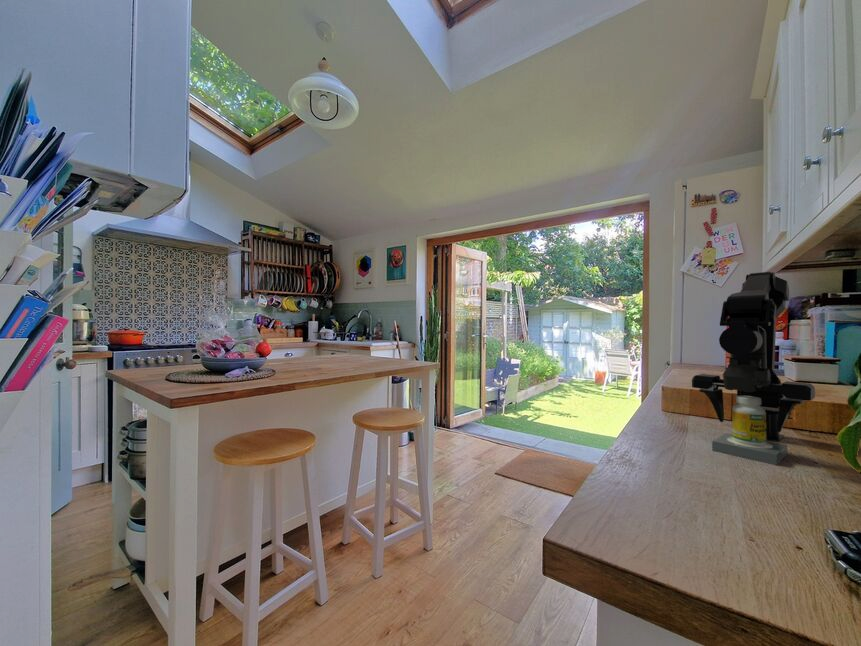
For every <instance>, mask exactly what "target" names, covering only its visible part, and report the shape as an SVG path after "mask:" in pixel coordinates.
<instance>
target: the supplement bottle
mask: <svg viewBox="0 0 861 646" xmlns="http://www.w3.org/2000/svg"><path fill="white" fill-rule="evenodd" d="M735 402H736V405H733V406H732V409H731V412H732V414H731V415H732V434H733V439H734V440H735V441H736V442H739V443H743V444H747V445H754V446H764V445H766V441H767V439H766V412H765V410H764V409H763V408H761V407H762V406H760V405H761V404H762V403H761V398H758V397H752V396H737V395H736V396H735Z"/></svg>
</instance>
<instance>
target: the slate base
mask: <svg viewBox="0 0 861 646" xmlns="http://www.w3.org/2000/svg"><path fill="white" fill-rule="evenodd" d="M711 447H712V449H711V450H712V451H714V452H719V453H723V454H727V455H732V456H735V457H739V458H744V459H748V460H752V461H756V462H757V461H758V462H762V463H765V464H771V465H773V466H774V465H775V466H778V464H780V462H781V461H782V460H783V459H784V458H786V456H787V455H788V444H786V443H780V442H776V441H771V440H766V445H764V446H754V445H747V444H743V443H739V442H736V441H735V440H734V439H733V433H727V432H726V433H724V434H722V435H721V436H718V437H717V438H714V439H713V440H712V441H711Z"/></svg>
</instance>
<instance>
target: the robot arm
mask: <svg viewBox="0 0 861 646" xmlns="http://www.w3.org/2000/svg"><path fill="white" fill-rule="evenodd" d="M741 286H742V287H741V290H740V291H739V292H735V293H731V294H730V295H729V296H727V298H726V300H724V301H723V303H722V309H721V314H720V320H719V326H720V327H728V328H726V329H724V330H723V331H722V332H721V334H720V336H719V339H718V342H719V345H720V347H721V348H722V350H723V351H725V352H726V353H728V354H729V355H730V357H729V361H728V363H729V364H728V366H727V368H726V369H724V372H723V374H722V378H721V375H717V374H707V373H706V374H705V373H700V374H696V375H694V376H692V379H691V387H692V388H693V389H694V388H695V389H698V391H699V393H704V394H705V395H706V396H707V397H708V399H709V401H710V402H711V404H712V406H713V409H714V412H715V414H716V416H717V419H718V421H719V422H720V423H723V422H724V419H725V411H724V410H725V408H724V407H725V406H724V395H723V394H724V393H723V389H722V388H724V389H725V390H727V391H733V390H734V391H736V396H752V397H758V398H761V403H762V404H761V405H760V407H761V408H763V409H764V410H765V412H766V441H771V442H781V440H783V439H784V438H785V435H784V434H780V433H781V432H782V430H783V429H784V426H785V424H786V422H787V419H788V417H789V416H791V415H792V411H793V409H794V408H795V406H796V405H801V404H804V403H805V402H806V401H807V402H808V401H812V400H814V399H815V398H816V389H815V386H814V385H813V384H812V383H808V382H797V381H784V382H782V381H781V378H779V377H778V375H777V374H776V373H775V356H776V355H775V354H776V336H777V335H776V333H777V332H776V331H777V327H776V326H777V318H779V317H780V315H781V314H782V313H783V312H784V311H785V310H786V305H787V304H786V303H787V302H789V301H790V286H789V284H788V281H787V280H785V279H784V278H781V277H778V276H776V273H775V272H772V271H763V272H762V271H760V272H752V273H751V272H750V273H749V274H746V275H745V281H744V282H743V283H742V285H741Z"/></svg>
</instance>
